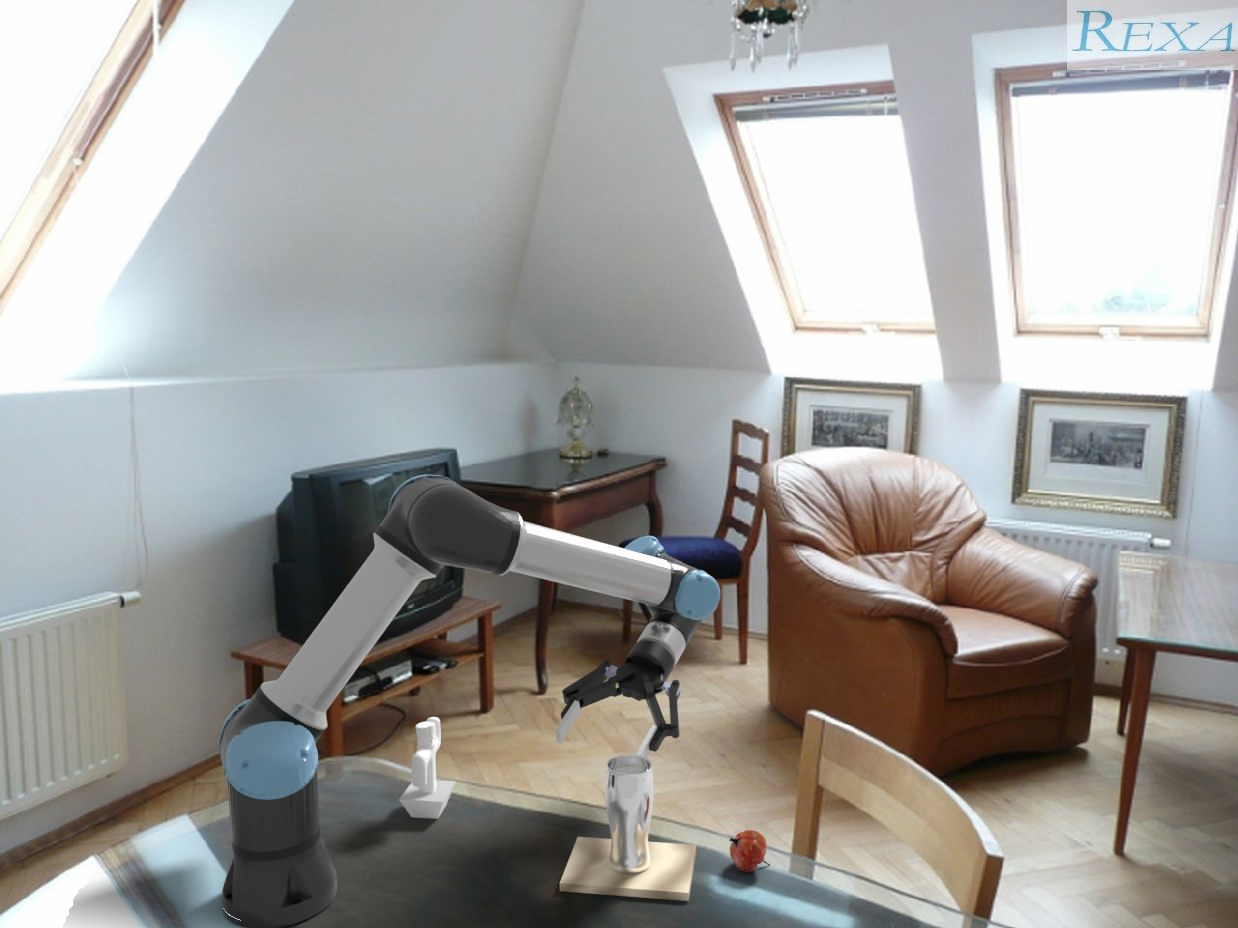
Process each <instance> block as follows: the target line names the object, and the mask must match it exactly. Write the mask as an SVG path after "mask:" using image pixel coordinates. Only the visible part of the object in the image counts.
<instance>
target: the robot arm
mask: <svg viewBox="0 0 1238 928" xmlns="http://www.w3.org/2000/svg"><path fill="white" fill-rule="evenodd" d="M372 535H373V542H374V548H373V550H372V551H371V553H370V554H369V555H368V557H366V559H365V561H364V562H363V564H362V565H361V567H360V568H359V569H358V570H357V572H356V573H355V575H354V576H353V577H352V578H351V580H350V582H349V583H347V585H346V586H345V588H344V590H342V592H341V593H340V595H339V596H338V597H337V599H336V600H335V602H334V603H333V604H332V606H331V607H330V609H329V610H328V611H327V613H326V614H325V615H324V616H323V618H322V619H321V621H320V622H319V623H318V625H317V626H316V627H315V628H314V630H313V631H312V633H311V634H310V635H309V637H308V638H307V639H306V641H305V643H303V645H302V646H301V648H299V650H298V652H297V653H296V654H295V656H294V657H293V659H292V660H291V661H290V663H289V664H288V665H287V667H286V668H285V669H284V671H283V672H282V673H281V674H280V676H279V678H277V679H275V680H270V681H265V682H262V683H261V685H260V686H259V687H258V688H257V689H256V691H255V693H253V695H252V696H251V698H250V699H246V700H244V701H242V702H241V703H239V704H238V705H237V706H236V707H235V708H234V709H232V710H231V712H230V713H229V714H228V716H227V717H226V719H225V720H224V722H223V724H222V728H221V729H220V730H221V731H220V735H219V736H220V737H219V741H218V742H219V743H218V752H219V755H220V760H221V761H220V762H221V763H222V768H223V773H224V778H225V784H226V789H227V797H228V807H229V820H230V821H229V822H230V834H231V836H230V837H231V846H232V847H231V853H232V854H231V856H230V862H229V864H228V869H227V872H226V875H225V879H224V882H223V886H222V890H221V906H222V905H223V906H222V913H223V916H224V918H225V919H227V920H228V921H229V922H230V923H231V924H234V925H236V926H240V927H242V928H283V927H286V926H291V925H295V924H298V923H301V922H303V921H305V920H308V919H310V918H312V917H314V916H316V915H317V914H319V913H320V912H322V911H324V910H325V909H326V908H327V907H328V906H329V905H330V904H331V903H332V902H333V901H334V899H335V898H336V895H337V893H338V884H337V883H338V881H337V880H338V879H337V872H336V868H335V866H334V863H333V862H332V860H331V858H330V855H329V852H328V850H327V848H326V845H325V843H324V841H323V838H322V832H321V831H322V829H321V813H320V812H321V811H320V809H321V808H320V793H319V778H318V776H319V775H318V762H319V752H318V749H317V745H316V743H317V742H318V740H319V739H320V737H322V734H324V732H325V730H326V729H327V728H328V720H327V711H328V709H329V708H330V706H331V705H332V703H334V700H335V699H336V698H337V697H338V695H339V694H340V693H341V691H342V690H343V689H344V687H345V686H346V684H347V683H348V682H349V681H350V679H351V677H352V676H353V675H354V673H355V672H356V671H357V669H358V668H359V666H361V664H362V663H363V661H364V660H365V658H366V657H367V656H368V654H369V653H370V651H371V650H372V649H373V647H374V646H375V645H376V643H377V642H378V640H379V639H380V638H381V636H382V635H383V634H384V632H385V631H386V629H387V628H388V626H389V625H390V624H391V623H392V621H393V620H394V619H395V617H396V615H397V614H398V613H399V612H400V611H401V609H402V607H403V606H404V604H405V603H406V602H407V601H408V599H409V598H410V596H411V595H412V594H413V592H414V591H415V589H416V588H417V586H418V585H419V584H420V583H421V581H424V580H427V579H428V580H430V579H434V578H436V577H437V576H438V574H439V573H440V572H441V571H442V569H443V568H444V567H445V566H450V567H454V568H461V569H467V570H472V571H477V572H482V573H487V574H492V575H495V576H496V575H497V576H504V575H506V574H507V573H509V572H513V573H518V574H522V575H526V576H529V577H534V578H537V579H543V580H546V581H550V582H555V583H559V584H562V585H567V586H571V587H576V588H579V589H583V590H588V591H592V592H595V593H600V594H604V595H607V596H611V597H616V598H620V599H624V600H629V601H633V602H636V603H641V604H644V605H645V606H646V608H647V610H648V611H649V613H650V615H651V618H650V620H649V622H648V623H647V624H646V627H645V628H644V630H643V631H642V632H641V634H640V636H639V638H638V639H637V641H636V643H634V645H633V647H632V648H631V650H630V651H629V653H628V654H627V656H626V658H625V660H624V663H622V665H620V666H618V667H617V666H615V665H612V663H611V661H610V660H609V659H604V660H603V661H602V662H601V664H600V665H598V667H597V668H595V669H594V670H592V671H590V672H589V673H586V675H584V676H583V677H581V678H579V679H578V680H576V681H574V682H573V683H571V684H569V685H567V686H566V687H565V688H563V689H562V697H563V701H564V704H565V706H564V708H563V710H562V711H561V713H560V719H561V720H560V722H559V723H558V725H557V727H556V728H555V730H554V732H555V737H556V741H557V742H556V743H560V744H562V743H563V742H564V740H565V739H566V737H567V736H568V734H569V732H570V731H571V730H572V728H573V727H574V725H575V723H576V722H577V720H578V718H579V717H580V715H581V713H582V712H581V709H583V708H585V707H588V706H590V705H593V704H595V703H597V702H601V701H603V700H605V699H608V698H611V697H613V698H616V697H618V696H621V695H622V696H623V697H625V698H632V699H634V700H636V701H638V702H641V701H646V704H647V707H648V709H649V711H650V713H651V716H652V719H653V722H654V724H652V725H651V726H650V729H649V730H648V732H647V733H646V735H645V737H644V739H643V741H642V742H641V743H640V746H639V748H638V749H637V751H636V753H635V754H634V755H637V756H642V757H645V758H647V759H648V757H649V755H650V754H651V752H654V753H656V752H657V751H658V750H659V749H660V747H661V745H662V743H663V741H664V739H665V738H667V737H672V738H673V739H678V738H679V737H680V725H679V724H680V721H679V711H678V708H679V707H678V700H679V698H680V695H681V684H680V681H679V680H678V679H674V680H672V681H671V682H668V679H669V676H670V675H671V674H672V672H673V670H674V668H675V666H677V663H678V661H679V660H680V658H681V656H682V654H683V653H684V651H685V649H686V647H687V646H688V645H689V644H688V643H690V641H691V639H692V637H693V636H694V635H695V633H696V631H697V629H698V628H699V626H701V623H702V622H703V620H704V619H706V618H708V617H710V616H711V615H712V614H713V613H714V612H715V611H716V610H717V608H718V606H719V603H720V600H721V589H720V588H721V587H720V586H719V584H718V581H717V580H716V579H715V578H714V577H713V576H711V575H710V574H709V573H707V572H706V571H705V570H702V569H698V568H696V567H694V566H691V565H688V564H686V563H684V562H683V561H681V560H679V559H676V558H674V557H672V556H670V555H668V554H667V552H666V551H665V547H664V546H662V544H661V543H660V541H659V539H658V538H656V537H655V536H653V535H645V536H644V535H643V536H641V537H639V538H638V537H637V538H636V539H634V540H632V541H631V542H629V543H628V544H627V545H626V546H625V547H624V548H623V547H619V546H616V545H612V544H608V543H604V542H601V541H598V540H594V539H590V538H587V537H584V536H583V537H582V536H579V535H575V534H572V533H568V532H564V531H561V530H557V529H554V528H550V527H547V526H543V525H539V524H535V523H532V522H528V521H524V520H523V517H522V516H521V514H520V513H519V512H518V511H515V510H511V509H507V508H505V507H500V506H498V505H496V504H495V503H492V502H490V501H488V500H485V499H484V498H483V497H480V496H479V495H477V494H476V493H474V492H472V491H471V490H469V489H468V488H465V487H464V486H461V485H460V484H459V483H457V482H455V481H453V480H451V479H450V478H449V477H447V476H442V475H439V474H421V475H416V476H413V477H410V478H409V479H407V480H405V481H404V482H402V483H401V484H400V485H399V486H398V487H397V488H396V489H395V491H394V492H393V494H392V496H391V498H390V500H389V503H388V509H387V515H386V516H385V517H384V519H382V521H381V522H380V524H379V526H378V527H377V528H376V529H375V530H374V532H373V534H372ZM617 686H618V687H617ZM663 691H665V695H666V696H667V697H668V703H669V719H670V723H666V722H667V721H666V719H665V717H664V715H663V712H662V709H661V707H660V704H659V702H658V699H657V696H656V695H658V694H659V693H661V692H663ZM223 908H224V909H225V910H224V909H223ZM225 911H226V912H227V913H228V914H230V915H231V916H233V917H235V918H237V919H240V920H241V921H240V920H237V919H235V918H233V917H231V916H229V915H228V914H227V913H226V912H225Z"/></svg>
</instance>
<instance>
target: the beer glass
mask: <svg viewBox="0 0 1238 928" xmlns="http://www.w3.org/2000/svg"><path fill="white" fill-rule="evenodd" d="M605 767H606V770H605V777H604V778H605V779H604V798H605V799H604V800H605V808H606V809H605V810H606V815H607V820H608V825H609V829H610V839H611V851H610V856H609V865H610V867H611V868H612V869H614V870H615V871H617V872H620V873H626V874H634V873H639V872H642V871H645V870H646V869H647V868H649V866H650V865H651V857H650V852H649V846H648V842H649V832H650V825H651V820H652V816H653V809H654V808H653V807H654V796H655V795H654V787H655V786H654V775H653V762H652V761H651V760H650V759H648V757H647V758H645V757H642V756H637V755H635V754H623V755H617V756H615V757H612V758H610V759H609V760H608V761H607V762H606V764H605Z"/></svg>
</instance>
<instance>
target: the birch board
mask: <svg viewBox="0 0 1238 928" xmlns="http://www.w3.org/2000/svg"><path fill="white" fill-rule="evenodd" d="M648 846H649V852H650V857H651V865H650V866H649V868H647V869H646V870H645V871H642V872H639V873H634V874H626V873H620V872H617V871H615V870H614V869H612V868H611V867H610V865H609V856H610V851H611V838H599V837H587V836H586V837H585V836H577V838H576V840H575V843H574V845H573V847H572V851H571V853H570V855H569V858H568V861H567V863H566V866H565V868H564V871H563V874H562V876H561V879H560V881H559V891H560V892H567V893H580V894H592V895H607V896H619V897H629V898H645V899H657V900H670V901H672V900H673V901H683V902H689V900H690V896H691V895H690V894H691V889H692V888H691V887H692V882H693V875H694V869H695V862H696V856H697V844H687V843H674V842H658V841H648Z"/></svg>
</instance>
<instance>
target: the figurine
mask: <svg viewBox="0 0 1238 928" xmlns="http://www.w3.org/2000/svg"><path fill="white" fill-rule="evenodd" d="M415 731H416V736H417V740H416V741H417V749H416V752H415V753H414V754H413V756H412V759H411V763H410V765H411V782H410V784H409V785H408V787H407V788H406V789H405V791H404V792H403V793H402V795H400V798H399V799H398V800H399V802H400V803H401V805H402V806H403V808H405V810H406V812H407V813H408V814H409V816H410V817H411V818H417V819H418V818H419V819H435V820H437V819H439V818H440V816H441V815H442V813H443V811H444V809H445V808H446V806H447V804H448V801H449V800H450V797H451V795H452V793H453V791H454V787H455V785H456V781H455V780H453V781H452V780H437V770H436V769H437V768H436V767H437V766H436V763H437V762H436V755H437V752H438V750H439V749H440V747H441V742H442V731H441V720H440V718H439V717H436V716H431V717H428V718H427V719H426V721H421V722H419V723H417V724H416V725H415Z"/></svg>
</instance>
